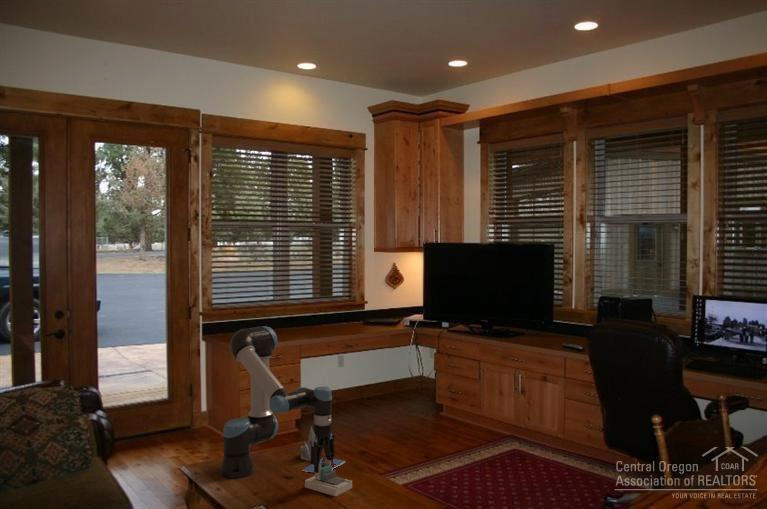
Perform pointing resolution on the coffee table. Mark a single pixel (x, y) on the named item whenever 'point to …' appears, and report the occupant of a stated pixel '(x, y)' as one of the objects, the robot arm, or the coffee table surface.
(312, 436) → the crystal
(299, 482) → the coffee table surface
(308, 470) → the blue flat panel
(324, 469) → the plug
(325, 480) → the shutter
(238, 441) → the robot arm
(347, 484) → the grey tray
